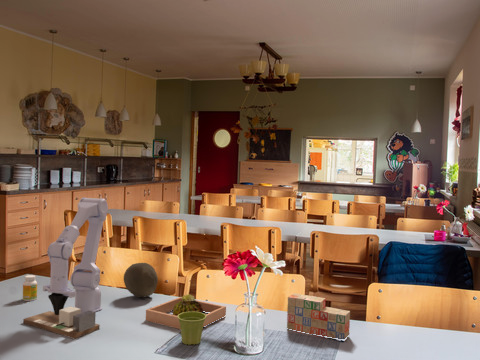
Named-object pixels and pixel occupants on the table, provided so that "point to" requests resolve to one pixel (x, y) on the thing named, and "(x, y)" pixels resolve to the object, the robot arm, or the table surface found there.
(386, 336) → the table surface
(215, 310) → the planter frame
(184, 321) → the plant pot
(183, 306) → the cactus
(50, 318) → the gauge track
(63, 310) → the block
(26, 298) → the supplement bottle
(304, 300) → the stack of blocks
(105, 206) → the robot arm
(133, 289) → the dark brown ball
